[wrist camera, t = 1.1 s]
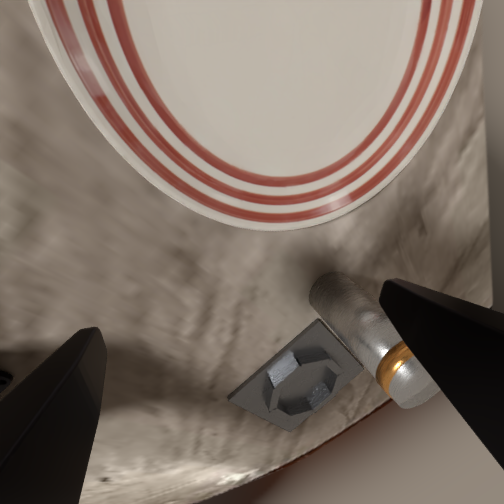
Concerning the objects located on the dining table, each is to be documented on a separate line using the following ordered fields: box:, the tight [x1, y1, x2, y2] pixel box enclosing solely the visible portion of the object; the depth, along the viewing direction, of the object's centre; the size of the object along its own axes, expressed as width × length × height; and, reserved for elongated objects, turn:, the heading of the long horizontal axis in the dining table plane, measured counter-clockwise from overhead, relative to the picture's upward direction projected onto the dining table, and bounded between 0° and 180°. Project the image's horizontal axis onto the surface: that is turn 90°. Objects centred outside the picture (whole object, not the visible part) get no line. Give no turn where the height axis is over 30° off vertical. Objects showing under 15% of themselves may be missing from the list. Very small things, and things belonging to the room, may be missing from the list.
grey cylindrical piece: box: [309, 272, 440, 408], centre depth 23 cm, size 5×5×12 cm
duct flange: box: [227, 319, 364, 432], centre depth 33 cm, size 14×14×2 cm
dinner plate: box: [28, 0, 483, 231], centre depth 16 cm, size 28×27×3 cm
